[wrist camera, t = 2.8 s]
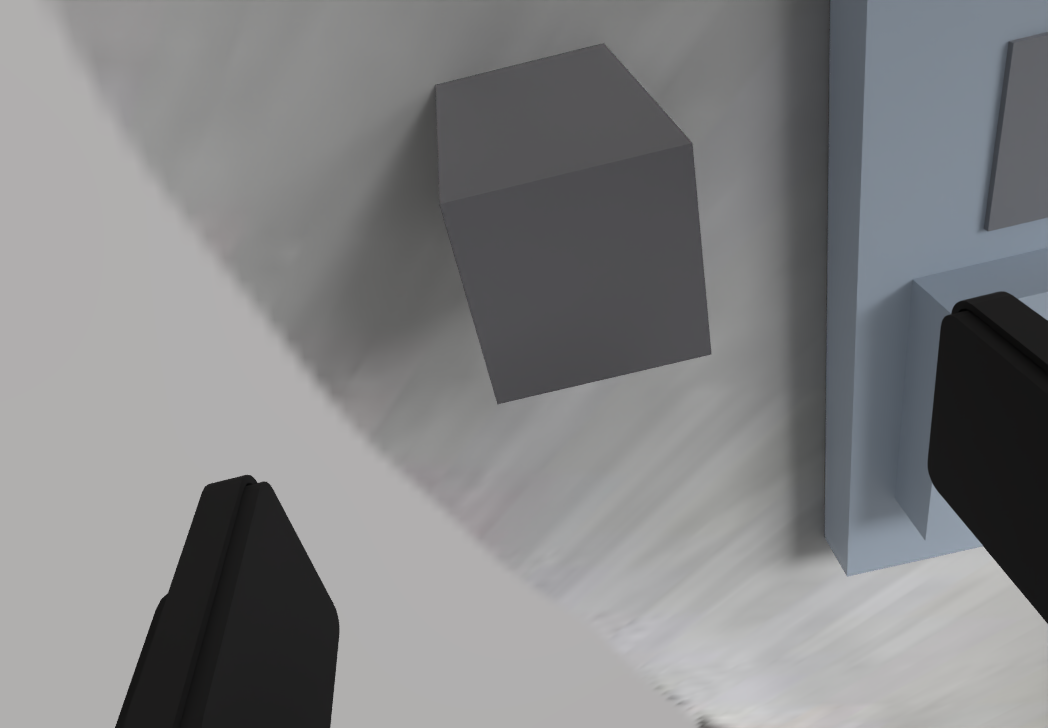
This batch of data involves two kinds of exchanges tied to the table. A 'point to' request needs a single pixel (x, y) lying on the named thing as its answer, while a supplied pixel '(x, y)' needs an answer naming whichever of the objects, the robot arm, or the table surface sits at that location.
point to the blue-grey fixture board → (921, 241)
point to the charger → (571, 222)
